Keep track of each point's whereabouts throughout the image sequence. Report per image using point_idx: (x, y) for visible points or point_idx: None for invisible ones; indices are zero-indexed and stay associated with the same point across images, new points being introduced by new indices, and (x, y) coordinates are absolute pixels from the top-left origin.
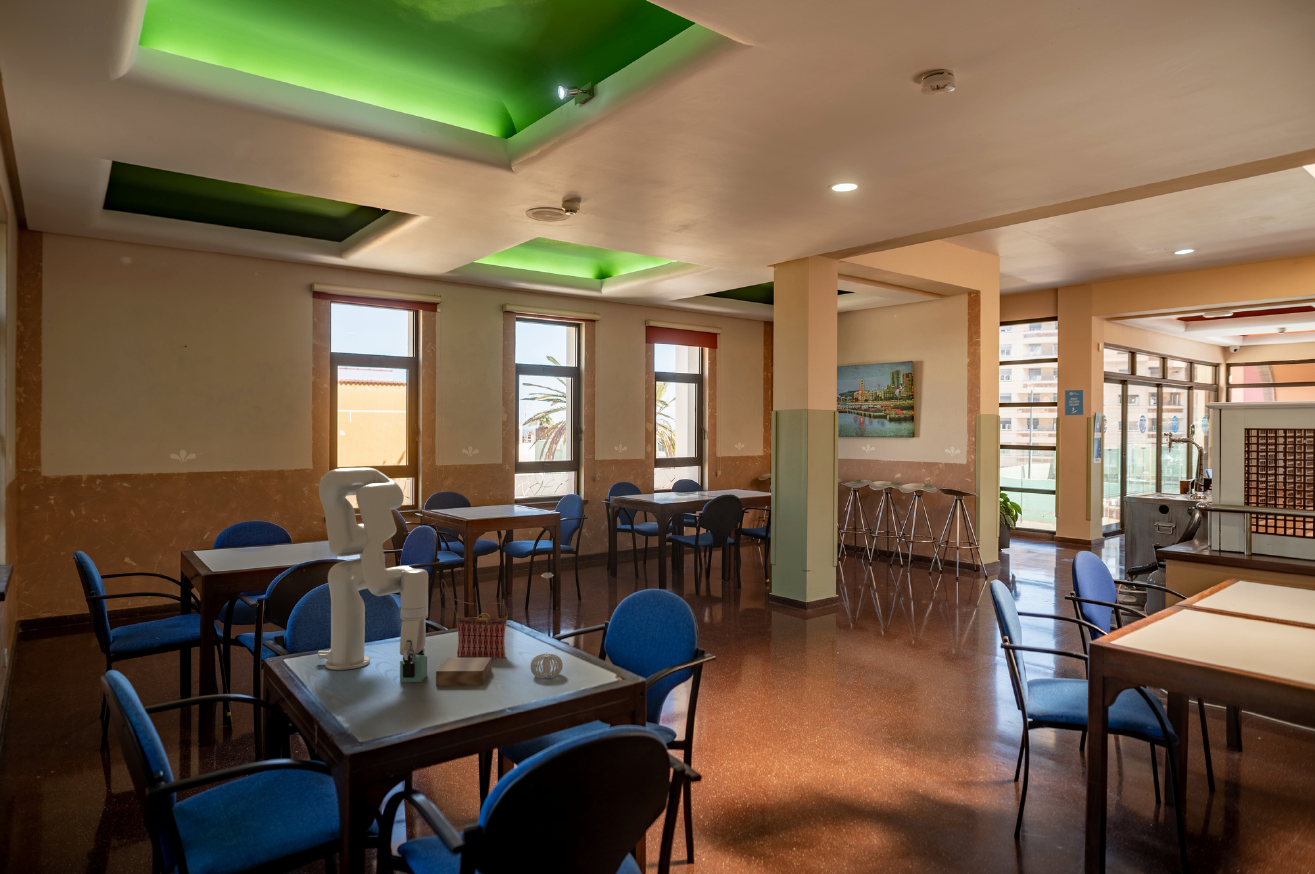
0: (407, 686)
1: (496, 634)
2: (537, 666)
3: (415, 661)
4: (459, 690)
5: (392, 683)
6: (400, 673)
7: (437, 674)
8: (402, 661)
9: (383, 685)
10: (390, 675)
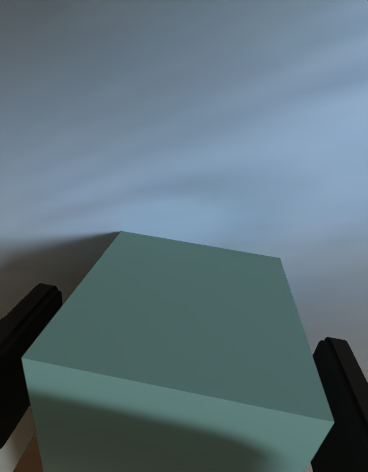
0: (29, 282)
1: None
2: None
3: (46, 463)
4: (5, 452)
5: (83, 183)
6: (95, 266)
7: (22, 462)
8: (31, 372)
9: (32, 118)
10: (315, 127)
